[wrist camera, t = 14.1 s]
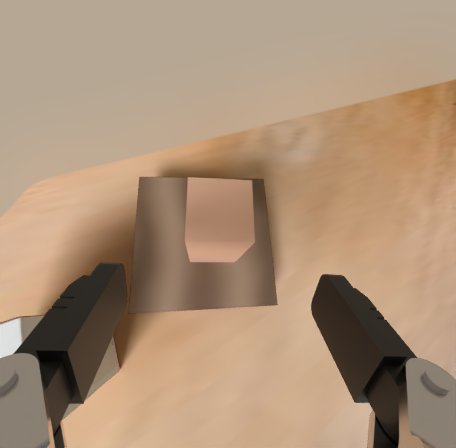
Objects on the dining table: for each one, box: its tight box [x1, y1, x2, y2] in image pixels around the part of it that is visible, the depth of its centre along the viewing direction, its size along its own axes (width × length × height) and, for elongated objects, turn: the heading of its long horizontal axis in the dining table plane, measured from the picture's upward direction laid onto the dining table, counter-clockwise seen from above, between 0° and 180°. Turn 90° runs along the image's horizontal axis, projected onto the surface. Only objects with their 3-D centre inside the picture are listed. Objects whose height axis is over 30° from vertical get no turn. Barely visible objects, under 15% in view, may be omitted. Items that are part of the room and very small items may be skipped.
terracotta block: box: [185, 177, 255, 262], centre depth 20 cm, size 4×4×9 cm
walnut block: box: [129, 177, 278, 314], centre depth 26 cm, size 14×14×5 cm
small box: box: [0, 315, 120, 420], centre depth 17 cm, size 8×6×13 cm
